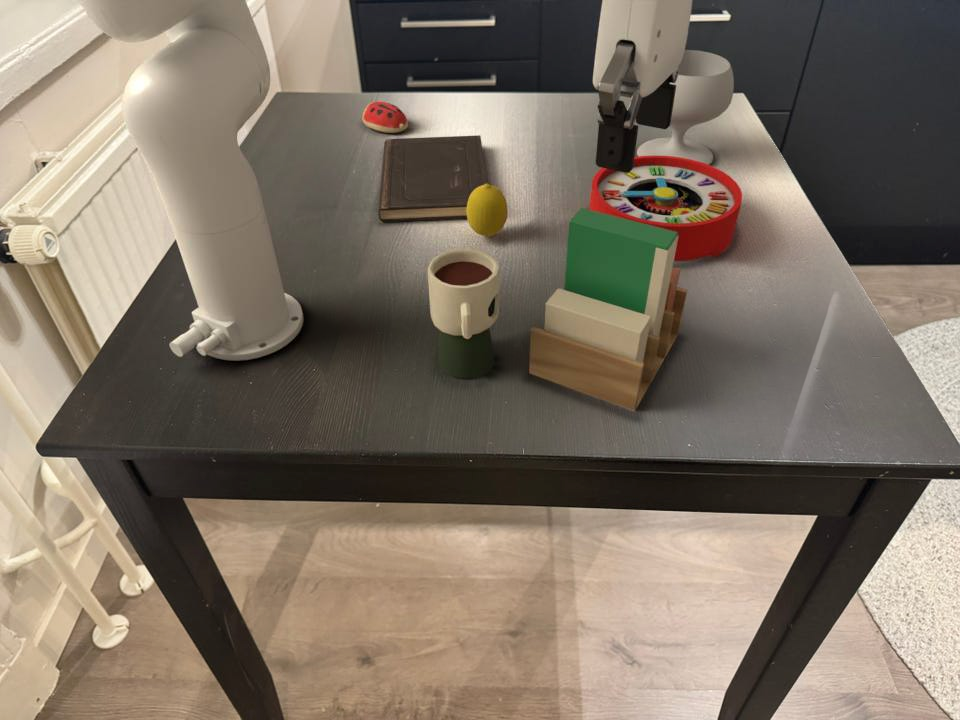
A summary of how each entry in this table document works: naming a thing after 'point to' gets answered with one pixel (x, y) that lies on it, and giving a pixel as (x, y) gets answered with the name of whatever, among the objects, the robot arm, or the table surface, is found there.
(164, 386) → the table surface
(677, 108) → the chalice
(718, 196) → the toy clock
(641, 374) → the book rack
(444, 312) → the character mug
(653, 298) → the green book
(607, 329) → the cream book
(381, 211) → the hardcover book
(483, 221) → the lemon
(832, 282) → the table surface
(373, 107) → the ladybug figurine
